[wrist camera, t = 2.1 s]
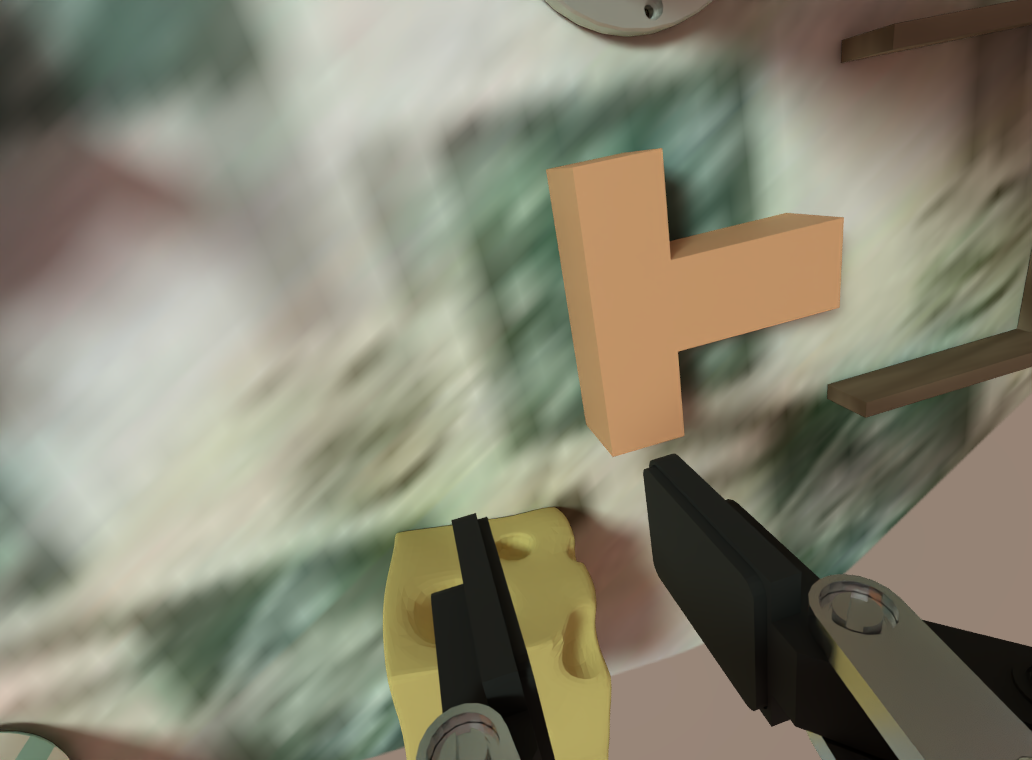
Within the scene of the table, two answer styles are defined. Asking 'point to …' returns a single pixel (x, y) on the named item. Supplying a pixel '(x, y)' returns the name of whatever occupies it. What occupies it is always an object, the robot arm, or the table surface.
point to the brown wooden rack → (1028, 340)
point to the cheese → (542, 619)
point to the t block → (670, 288)
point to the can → (28, 747)
